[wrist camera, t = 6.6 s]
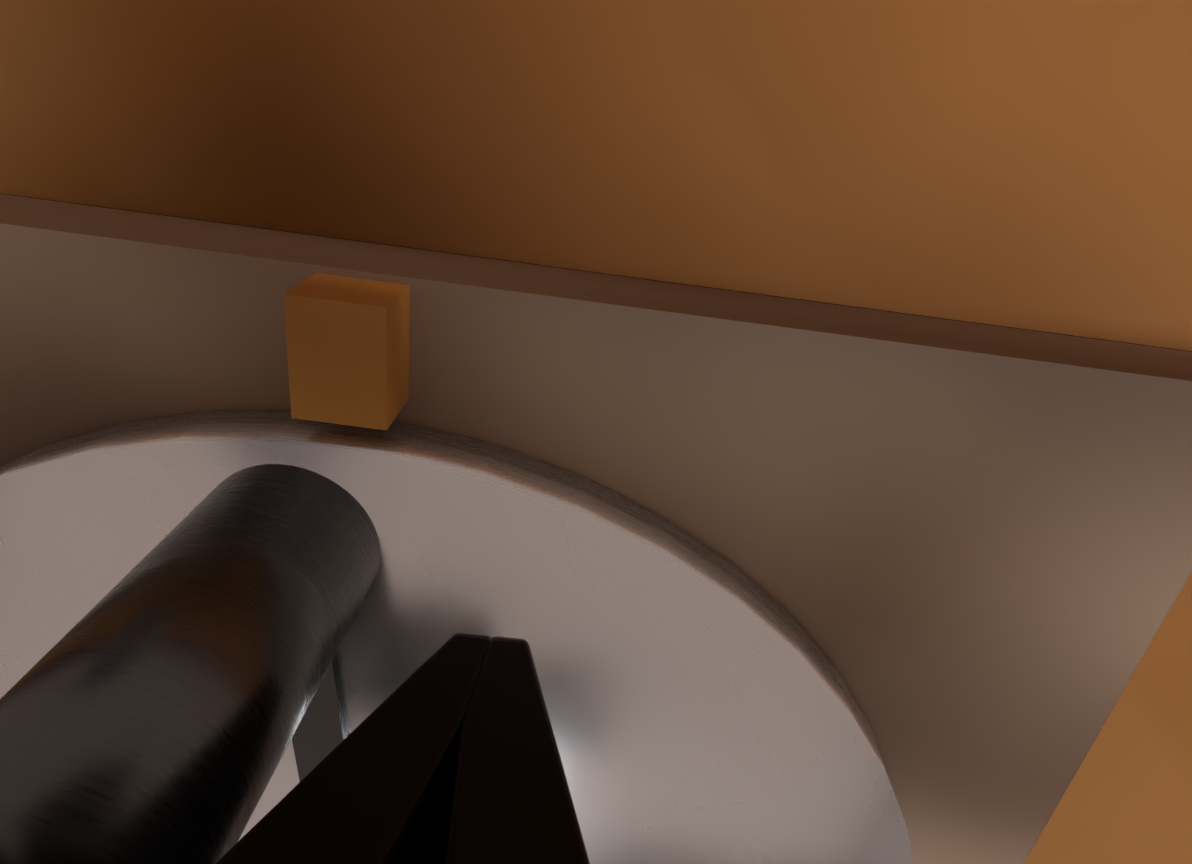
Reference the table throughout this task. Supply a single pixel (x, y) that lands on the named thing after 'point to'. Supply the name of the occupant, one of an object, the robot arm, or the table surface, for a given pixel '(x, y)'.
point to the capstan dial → (391, 645)
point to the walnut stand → (698, 454)
